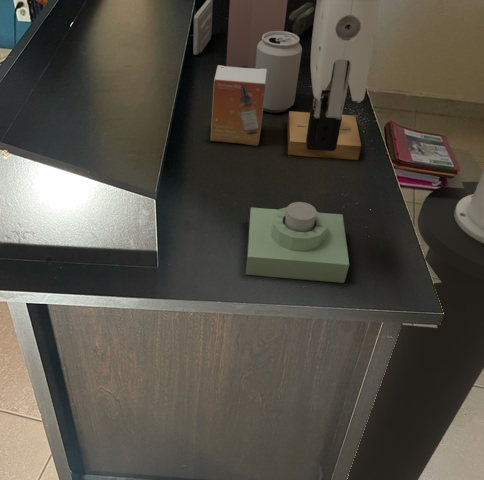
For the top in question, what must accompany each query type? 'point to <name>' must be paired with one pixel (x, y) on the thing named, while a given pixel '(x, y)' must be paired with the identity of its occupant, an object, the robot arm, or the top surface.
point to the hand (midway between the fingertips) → (320, 146)
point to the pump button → (300, 217)
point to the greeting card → (251, 28)
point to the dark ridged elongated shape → (301, 19)
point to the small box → (238, 104)
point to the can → (279, 68)
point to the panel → (297, 146)
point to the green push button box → (296, 247)
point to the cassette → (202, 27)
